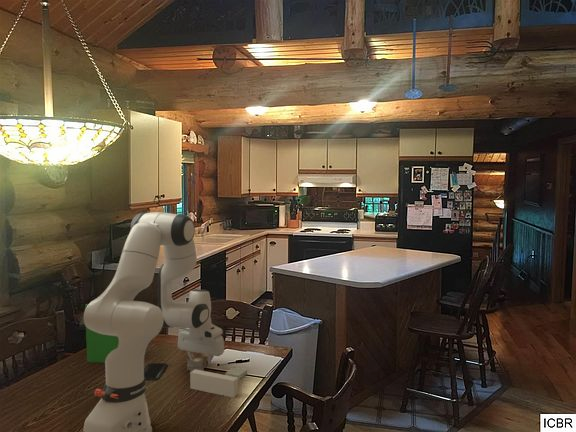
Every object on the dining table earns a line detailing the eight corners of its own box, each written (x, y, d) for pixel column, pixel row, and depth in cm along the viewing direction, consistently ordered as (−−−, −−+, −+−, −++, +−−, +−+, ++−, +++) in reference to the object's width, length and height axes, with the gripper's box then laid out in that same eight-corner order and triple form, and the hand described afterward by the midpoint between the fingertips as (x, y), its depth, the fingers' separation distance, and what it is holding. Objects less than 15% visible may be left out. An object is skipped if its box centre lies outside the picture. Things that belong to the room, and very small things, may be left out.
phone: (168, 363, 197) (157, 378, 182) (168, 366, 197) (157, 381, 182) (148, 363, 197) (136, 378, 182) (148, 365, 197) (136, 381, 182)
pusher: (202, 372, 189) (201, 362, 189) (187, 369, 192) (187, 359, 192) (215, 364, 198) (214, 354, 197) (200, 361, 201) (200, 352, 200)
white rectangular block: (233, 397, 168) (233, 380, 167) (190, 388, 175) (190, 372, 174) (246, 387, 176) (246, 371, 175) (204, 379, 183) (204, 363, 183)
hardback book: (87, 361, 201) (85, 304, 199) (95, 355, 208) (93, 300, 206) (128, 363, 199) (126, 305, 197) (135, 356, 206) (134, 301, 204)
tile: (239, 380, 183) (238, 375, 183) (225, 378, 185) (225, 372, 185) (247, 374, 188) (246, 369, 188) (233, 372, 191) (233, 367, 191)
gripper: (173, 328, 195) (174, 361, 196) (217, 334, 186) (217, 370, 187) (183, 323, 201) (184, 356, 202) (226, 330, 192) (226, 364, 193)
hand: (200, 363), depth 194 cm, fingers open, 6 cm apart
